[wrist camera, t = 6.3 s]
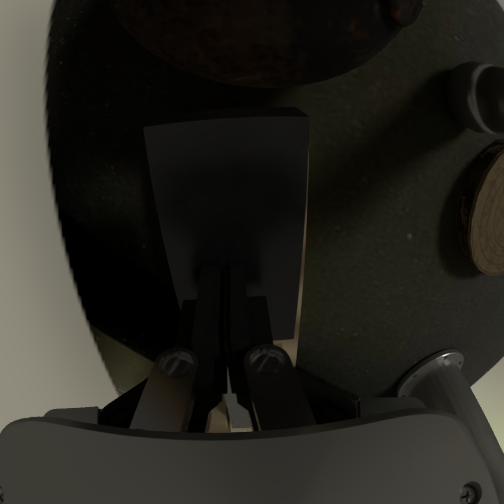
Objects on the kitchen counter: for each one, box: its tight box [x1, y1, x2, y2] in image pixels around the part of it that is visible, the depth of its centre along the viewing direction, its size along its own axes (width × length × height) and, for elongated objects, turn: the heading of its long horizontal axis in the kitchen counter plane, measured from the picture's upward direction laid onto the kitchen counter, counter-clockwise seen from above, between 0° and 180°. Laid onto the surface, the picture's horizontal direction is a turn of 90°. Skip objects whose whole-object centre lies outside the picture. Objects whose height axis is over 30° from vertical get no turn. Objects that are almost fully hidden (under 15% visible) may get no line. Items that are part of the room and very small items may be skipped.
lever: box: [143, 107, 309, 428], centre depth 16 cm, size 23×5×3 cm, turn 3°
